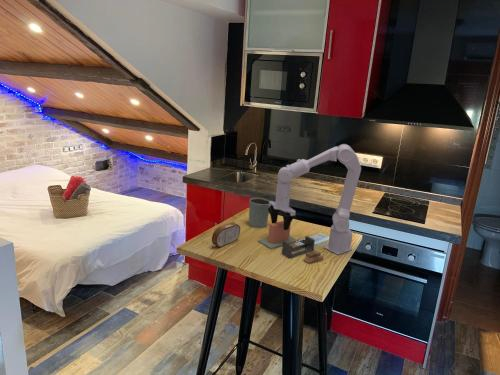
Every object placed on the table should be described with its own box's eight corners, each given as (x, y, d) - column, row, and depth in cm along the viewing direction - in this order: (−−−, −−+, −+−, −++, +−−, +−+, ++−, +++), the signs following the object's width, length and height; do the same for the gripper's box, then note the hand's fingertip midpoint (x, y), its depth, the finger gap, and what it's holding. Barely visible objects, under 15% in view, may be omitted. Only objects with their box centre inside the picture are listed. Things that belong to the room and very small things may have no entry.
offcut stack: (317, 257, 148) (318, 249, 147) (323, 260, 146) (324, 252, 145) (303, 261, 144) (304, 253, 143) (308, 265, 141) (309, 256, 140)
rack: (305, 246, 157) (306, 235, 155) (313, 251, 153) (315, 240, 152) (281, 253, 149) (282, 242, 147) (289, 258, 145) (291, 246, 144)
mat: (285, 234, 168) (285, 233, 168) (298, 241, 162) (298, 240, 161) (257, 241, 158) (257, 240, 158) (270, 249, 152) (270, 247, 152)
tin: (235, 237, 161) (236, 219, 158) (240, 240, 159) (242, 221, 157) (210, 247, 149) (211, 228, 147) (216, 250, 147) (217, 230, 145)
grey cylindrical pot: (245, 220, 181) (247, 197, 178) (265, 220, 184) (267, 197, 181) (250, 228, 172) (252, 204, 169) (271, 228, 174) (273, 204, 171)
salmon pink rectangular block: (285, 237, 164) (286, 220, 162) (288, 239, 162) (290, 222, 160) (267, 241, 158) (269, 224, 156) (271, 243, 156) (273, 226, 154)
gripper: (264, 192, 157) (261, 222, 161) (287, 202, 147) (284, 234, 150) (276, 190, 162) (274, 219, 165) (300, 199, 151) (297, 231, 154)
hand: (279, 226), depth 158 cm, fingers open, 7 cm apart
